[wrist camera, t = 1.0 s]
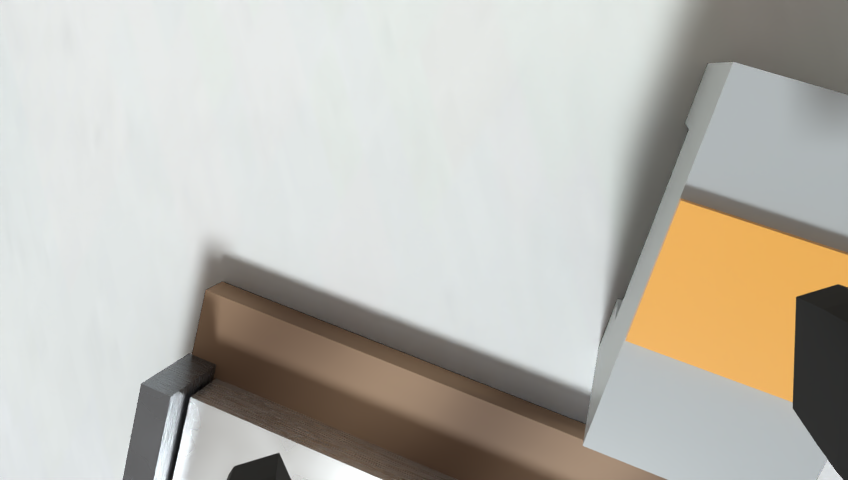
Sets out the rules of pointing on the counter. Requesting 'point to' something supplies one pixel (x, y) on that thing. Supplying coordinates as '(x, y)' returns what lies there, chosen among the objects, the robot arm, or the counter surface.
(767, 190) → the block
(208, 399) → the din rail
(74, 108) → the counter surface
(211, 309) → the mounting plate
